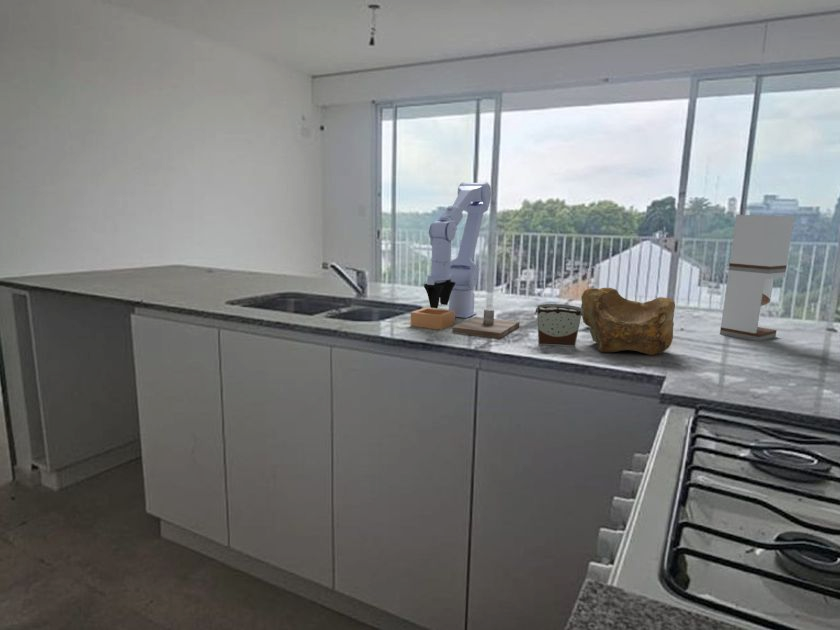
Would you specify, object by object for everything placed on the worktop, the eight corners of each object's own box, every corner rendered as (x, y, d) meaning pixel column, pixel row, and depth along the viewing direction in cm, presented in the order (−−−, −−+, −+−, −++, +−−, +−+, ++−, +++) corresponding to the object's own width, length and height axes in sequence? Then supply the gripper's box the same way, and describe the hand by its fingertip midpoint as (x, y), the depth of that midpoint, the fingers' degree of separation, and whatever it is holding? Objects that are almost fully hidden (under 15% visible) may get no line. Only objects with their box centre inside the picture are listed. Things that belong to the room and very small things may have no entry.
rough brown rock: (563, 352, 136) (569, 294, 131) (580, 335, 149) (586, 282, 145) (663, 371, 124) (672, 308, 120) (671, 350, 138) (680, 294, 134)
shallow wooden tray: (424, 320, 167) (425, 307, 166) (454, 323, 163) (455, 310, 162) (410, 325, 158) (410, 312, 157) (441, 329, 154) (442, 316, 153)
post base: (475, 321, 168) (476, 304, 167) (519, 326, 162) (520, 308, 161) (452, 332, 151) (453, 313, 150) (500, 338, 145) (501, 318, 144)
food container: (576, 341, 145) (579, 304, 143) (581, 346, 139) (584, 308, 137) (530, 338, 146) (532, 302, 144) (532, 344, 140) (535, 306, 138)
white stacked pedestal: (758, 341, 152) (777, 215, 145) (719, 333, 160) (736, 214, 154) (775, 336, 158) (794, 216, 152) (737, 330, 167) (753, 215, 160)
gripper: (438, 259, 169) (436, 302, 171) (418, 262, 156) (416, 308, 158) (459, 260, 166) (457, 304, 168) (440, 263, 153) (438, 310, 156)
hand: (439, 306), depth 163 cm, fingers open, 7 cm apart
